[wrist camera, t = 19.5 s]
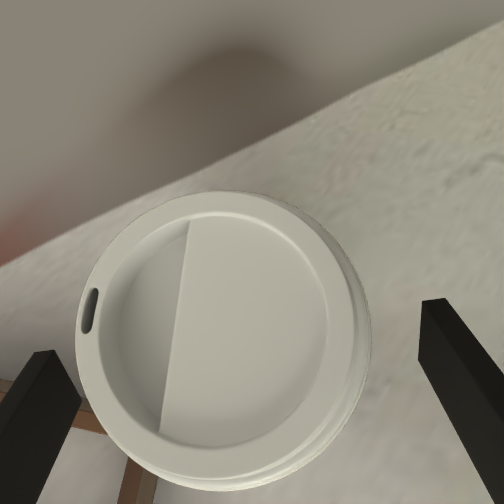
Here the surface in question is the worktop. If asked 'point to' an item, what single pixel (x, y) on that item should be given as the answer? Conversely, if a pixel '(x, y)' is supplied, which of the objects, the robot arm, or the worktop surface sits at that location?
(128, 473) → the square wooden frame
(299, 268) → the coffee cup
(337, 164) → the worktop surface
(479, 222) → the worktop surface
